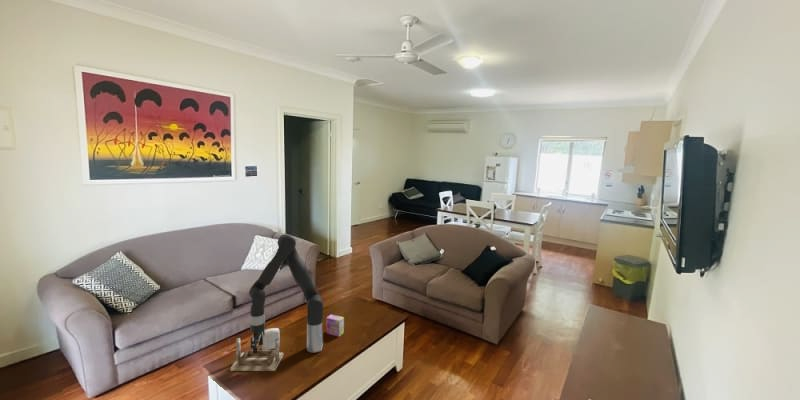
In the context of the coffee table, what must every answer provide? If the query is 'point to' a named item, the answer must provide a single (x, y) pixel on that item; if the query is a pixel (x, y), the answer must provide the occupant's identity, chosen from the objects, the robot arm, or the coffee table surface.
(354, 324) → the coffee table surface
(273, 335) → the photo printer
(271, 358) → the beige hollow frame piece
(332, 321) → the box
